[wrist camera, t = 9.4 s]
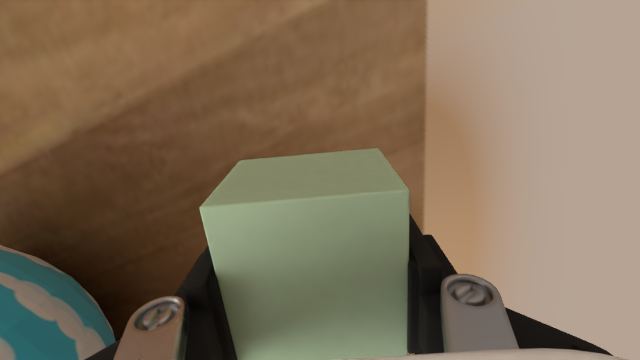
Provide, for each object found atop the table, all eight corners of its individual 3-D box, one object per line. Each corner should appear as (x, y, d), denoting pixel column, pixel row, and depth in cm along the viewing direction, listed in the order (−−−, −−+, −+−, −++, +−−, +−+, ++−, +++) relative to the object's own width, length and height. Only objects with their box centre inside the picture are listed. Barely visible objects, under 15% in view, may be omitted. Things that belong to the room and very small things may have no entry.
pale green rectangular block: (239, 159, 11) (198, 207, 7) (378, 147, 11) (410, 189, 7) (268, 313, 13) (248, 409, 10) (383, 305, 13) (407, 398, 10)
